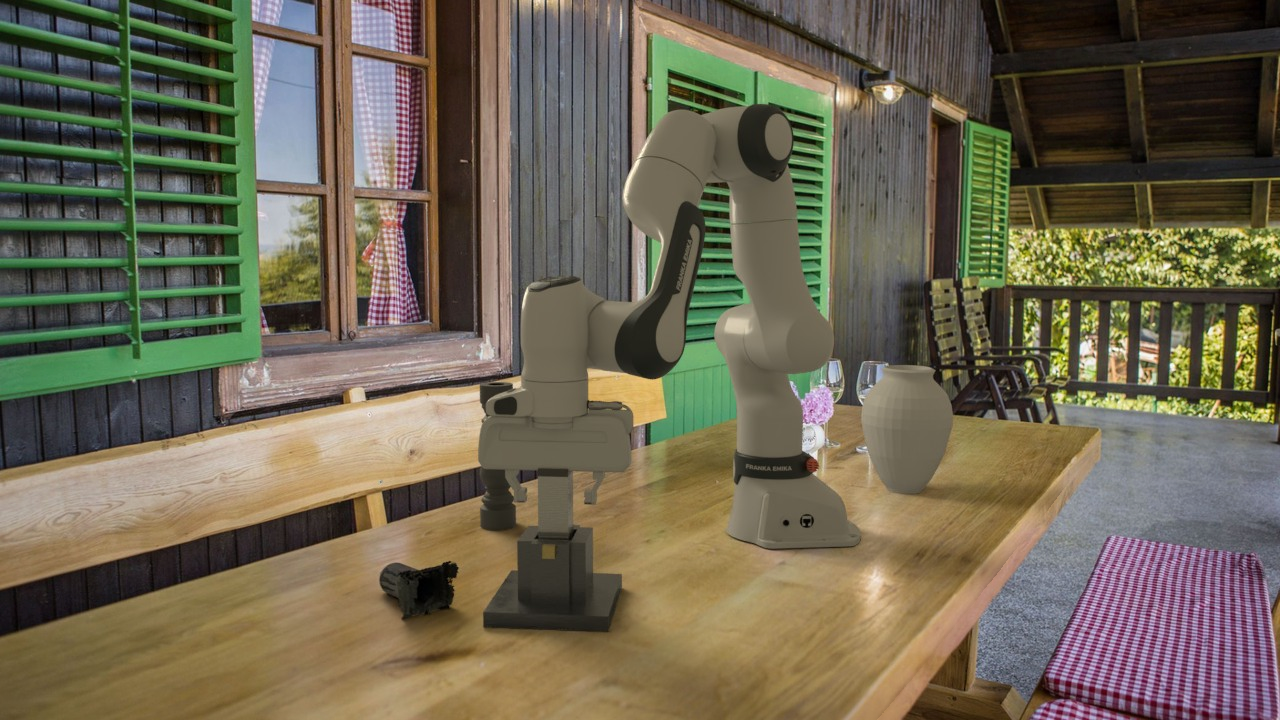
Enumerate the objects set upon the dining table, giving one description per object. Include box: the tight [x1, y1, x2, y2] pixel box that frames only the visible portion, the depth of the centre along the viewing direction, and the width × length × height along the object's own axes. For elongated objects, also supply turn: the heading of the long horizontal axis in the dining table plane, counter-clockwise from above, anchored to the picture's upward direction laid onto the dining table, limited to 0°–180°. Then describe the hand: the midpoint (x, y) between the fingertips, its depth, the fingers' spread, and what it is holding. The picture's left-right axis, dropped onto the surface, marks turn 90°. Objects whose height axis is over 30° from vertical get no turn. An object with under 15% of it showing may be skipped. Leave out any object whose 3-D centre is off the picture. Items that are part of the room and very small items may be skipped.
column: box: [537, 468, 575, 540], centre depth 125 cm, size 4×4×17 cm
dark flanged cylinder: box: [378, 560, 460, 619], centre depth 128 cm, size 9×8×12 cm
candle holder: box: [479, 381, 517, 531], centre depth 163 cm, size 6×6×25 cm
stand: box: [482, 524, 623, 633], centre depth 126 cm, size 16×16×10 cm
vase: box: [860, 364, 954, 495], centre depth 189 cm, size 18×18×25 cm
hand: (555, 502), depth 125 cm, fingers open, 8 cm apart
